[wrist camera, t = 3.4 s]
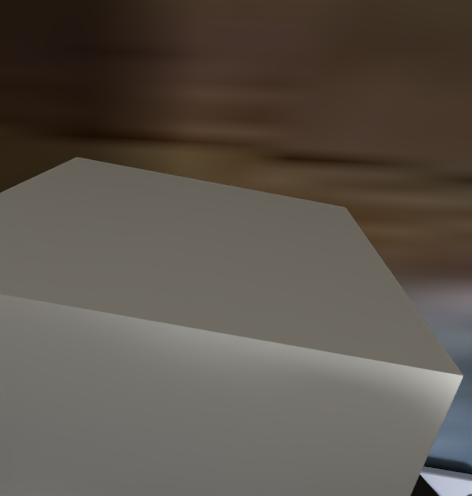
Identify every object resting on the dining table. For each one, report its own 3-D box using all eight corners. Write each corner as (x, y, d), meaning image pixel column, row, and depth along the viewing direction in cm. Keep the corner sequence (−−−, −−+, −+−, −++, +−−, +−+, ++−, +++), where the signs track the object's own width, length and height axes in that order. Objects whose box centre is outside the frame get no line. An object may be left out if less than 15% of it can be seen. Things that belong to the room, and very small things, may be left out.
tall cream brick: (266, 487, 13) (276, 796, 7) (61, 453, 13) (-87, 745, 7) (345, 207, 10) (463, 375, 4) (77, 157, 10) (-159, 266, 4)
